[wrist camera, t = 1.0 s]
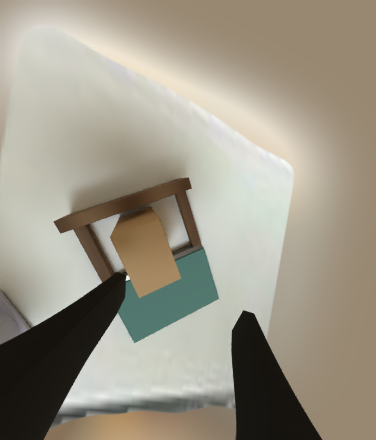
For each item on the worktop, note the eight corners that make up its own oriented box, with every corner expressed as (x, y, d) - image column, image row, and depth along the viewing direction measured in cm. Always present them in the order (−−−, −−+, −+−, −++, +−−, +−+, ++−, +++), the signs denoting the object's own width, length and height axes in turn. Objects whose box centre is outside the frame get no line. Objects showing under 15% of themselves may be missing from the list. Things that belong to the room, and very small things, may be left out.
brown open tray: (107, 284, 21) (101, 305, 17) (70, 213, 18) (53, 221, 15) (199, 244, 24) (211, 255, 20) (179, 178, 21) (188, 177, 17)
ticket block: (137, 258, 22) (139, 298, 14) (119, 217, 20) (109, 237, 13) (166, 247, 23) (181, 278, 15) (150, 206, 21) (159, 219, 13)
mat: (134, 340, 24) (134, 343, 24) (106, 289, 21) (106, 291, 21) (217, 297, 27) (218, 298, 27) (202, 247, 24) (203, 248, 24)
